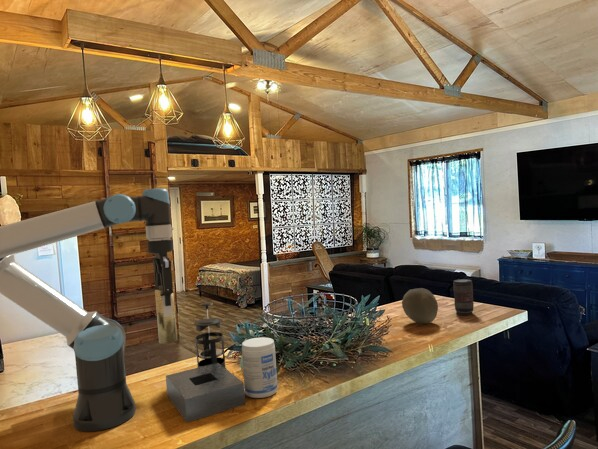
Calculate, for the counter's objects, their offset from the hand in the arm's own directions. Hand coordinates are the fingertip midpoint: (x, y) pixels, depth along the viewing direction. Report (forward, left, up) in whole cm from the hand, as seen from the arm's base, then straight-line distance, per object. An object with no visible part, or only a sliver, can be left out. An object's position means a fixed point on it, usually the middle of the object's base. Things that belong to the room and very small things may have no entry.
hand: (165, 314), depth 133 cm
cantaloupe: (+103, -5, -22) cm, 106 cm away
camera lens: (+128, -7, -22) cm, 130 cm away
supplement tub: (+20, -23, -22) cm, 38 cm away
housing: (+5, -17, -22) cm, 28 cm away
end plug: (0, 0, -8) cm, 8 cm away
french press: (+14, +3, -22) cm, 27 cm away
